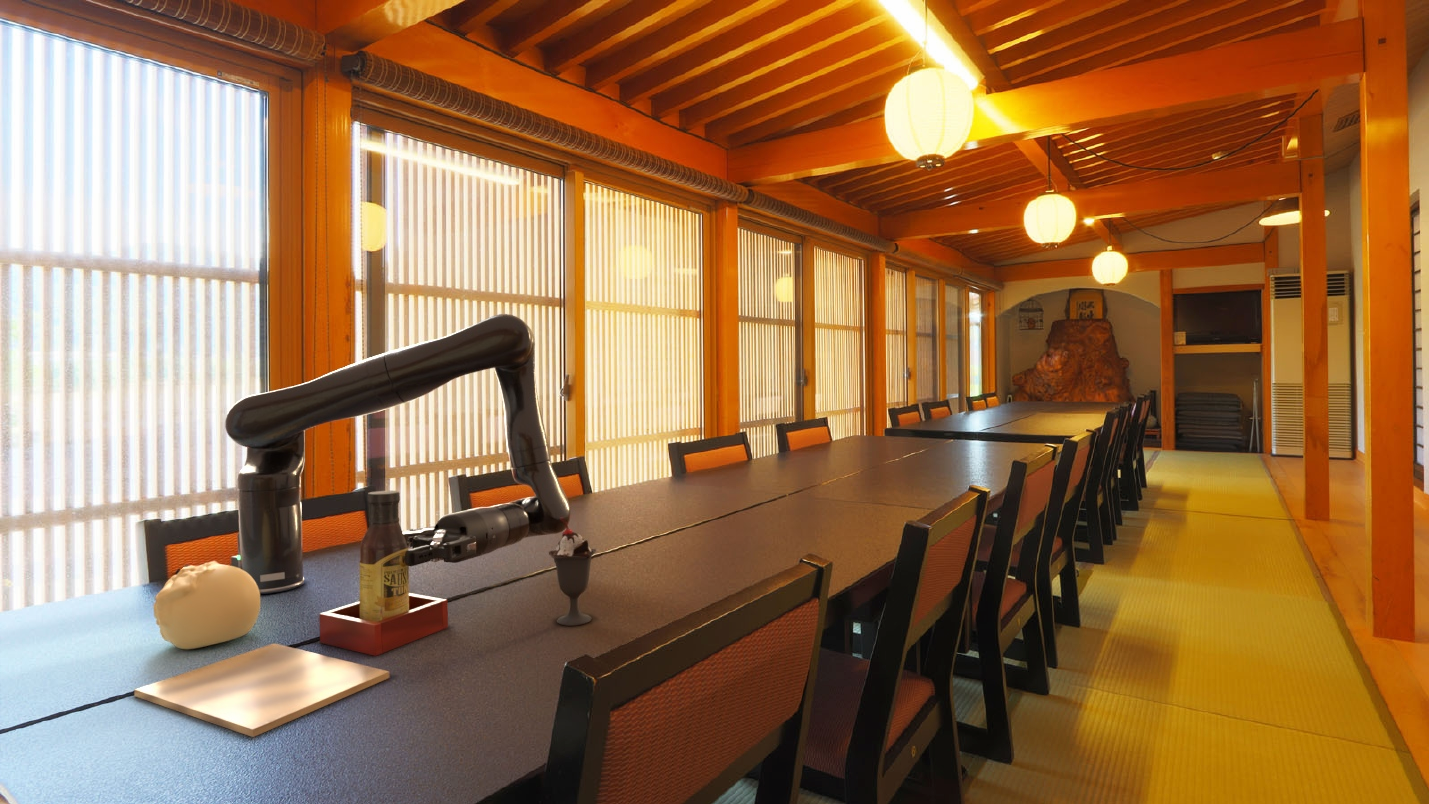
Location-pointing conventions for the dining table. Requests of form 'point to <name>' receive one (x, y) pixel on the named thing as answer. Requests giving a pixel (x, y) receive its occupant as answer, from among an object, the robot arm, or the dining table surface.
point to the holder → (383, 626)
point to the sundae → (572, 573)
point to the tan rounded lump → (207, 605)
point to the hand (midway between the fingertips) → (385, 555)
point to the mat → (261, 688)
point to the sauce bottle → (383, 560)
